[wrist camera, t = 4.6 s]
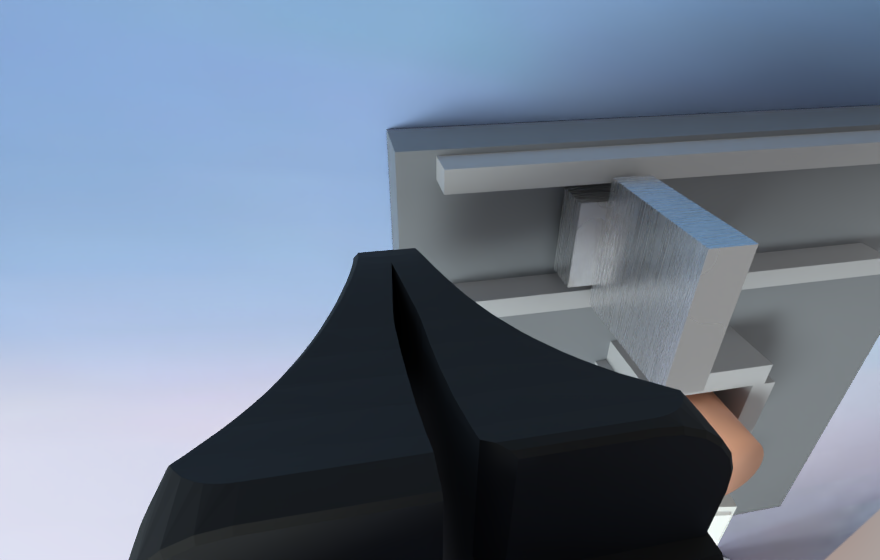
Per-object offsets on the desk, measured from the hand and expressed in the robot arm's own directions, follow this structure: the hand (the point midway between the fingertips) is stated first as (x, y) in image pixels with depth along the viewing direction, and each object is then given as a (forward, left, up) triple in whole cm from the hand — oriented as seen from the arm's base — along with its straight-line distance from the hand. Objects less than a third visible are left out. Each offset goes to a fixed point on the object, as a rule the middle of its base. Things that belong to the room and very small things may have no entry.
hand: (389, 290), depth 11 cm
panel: (-7, -9, -4) cm, 13 cm away
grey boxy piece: (0, -6, -2) cm, 6 cm away
